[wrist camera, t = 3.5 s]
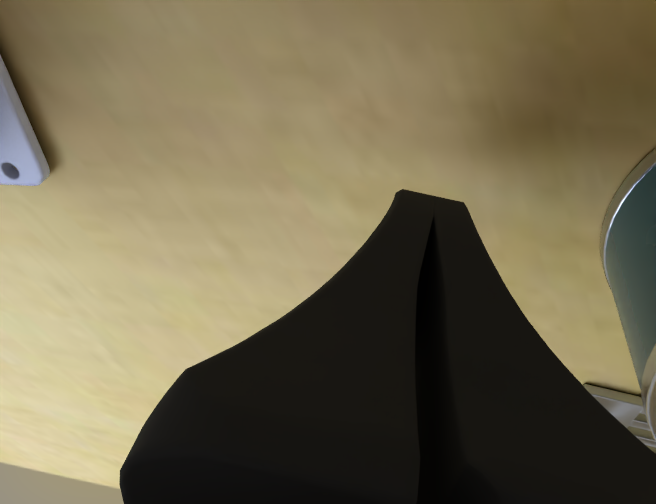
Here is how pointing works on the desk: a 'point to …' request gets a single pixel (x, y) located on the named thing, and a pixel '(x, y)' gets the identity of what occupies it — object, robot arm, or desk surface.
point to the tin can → (635, 272)
